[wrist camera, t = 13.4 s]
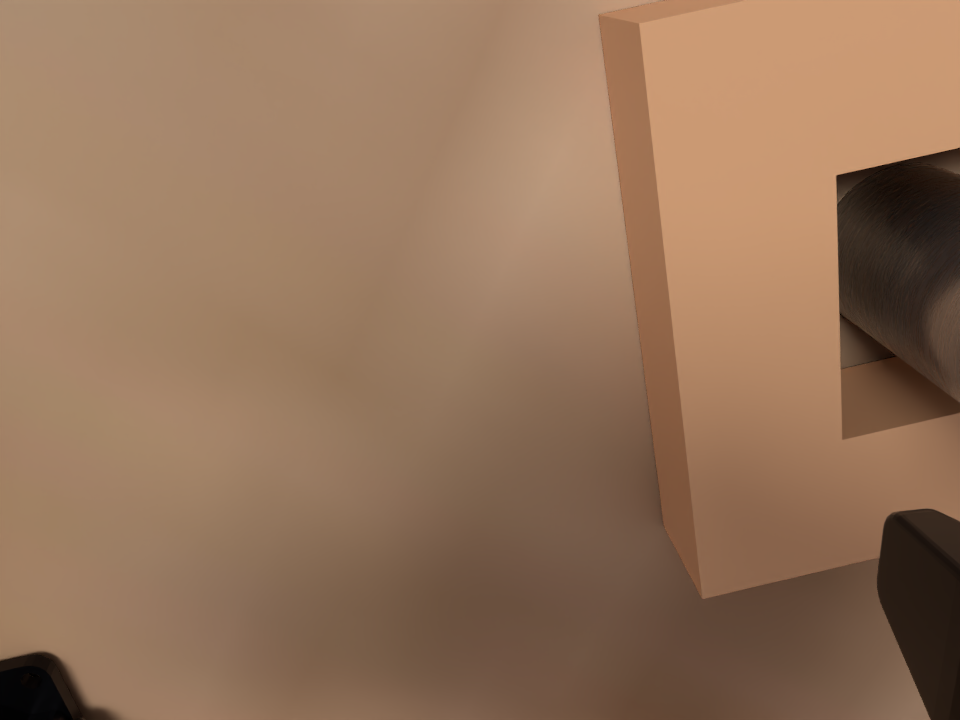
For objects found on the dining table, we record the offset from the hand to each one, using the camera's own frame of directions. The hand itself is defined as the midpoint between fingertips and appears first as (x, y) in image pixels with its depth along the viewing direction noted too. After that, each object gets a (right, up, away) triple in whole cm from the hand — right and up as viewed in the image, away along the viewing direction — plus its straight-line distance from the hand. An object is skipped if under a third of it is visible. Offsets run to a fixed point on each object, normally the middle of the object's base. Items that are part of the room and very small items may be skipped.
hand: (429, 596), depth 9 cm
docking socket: (+10, +5, +13) cm, 17 cm away
